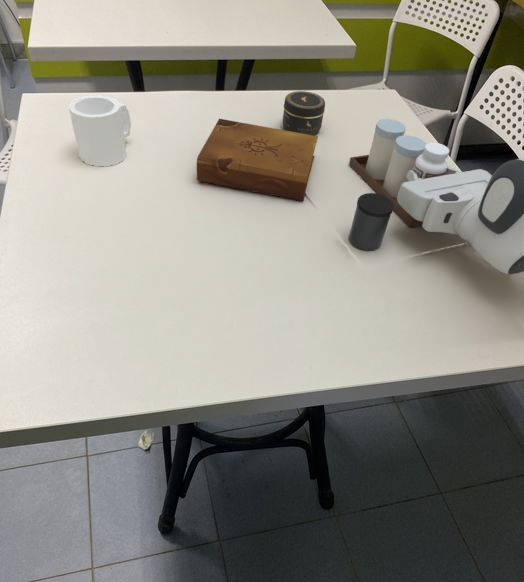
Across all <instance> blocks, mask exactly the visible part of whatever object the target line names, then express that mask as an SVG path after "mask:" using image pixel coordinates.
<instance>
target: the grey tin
mask: <svg viewBox="0 0 524 582" xmlns="http://www.w3.org/2000/svg"><path fill="white" fill-rule="evenodd" d="M393 208H394V205H393V202H392V201H391V200H390V199H389V198H387V197H385V196H383V195H380V194H376V193H375V192H368V193H367V192H366V193H364V194H361V195H360V196H358V198H357V202H356V207H355V211H354V215H353V219H352V223H351V227H350V230H349V234H348V242H349V244H350V245H351V246H352V247H353V248H355V249H357V250H359V251H362V252H374V251H377V250H379V249H380V248H381V246H382V244H383V243H382V242H383V240H384V237H385V233H386V231H387V227H388V224H389V223H390V222H389V221H390V219H391V215H392V213H393V212H394V211H393Z"/></svg>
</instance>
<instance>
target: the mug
mask: <svg viewBox="0 0 524 582" xmlns="http://www.w3.org/2000/svg"><path fill="white" fill-rule="evenodd" d="M68 111H69V115H70V120H71V125H72V129H73V134H74V138H75V142H76V147H77V152H78V155H79V159H80V158H81V159H80V160H81V162H83V161H84V162H85V163H84V162H83V163H84V164H86V163H88V164H87V165H89V164H90V165H89V166H92V165H94V166H93V167H99V166H104V167H111V165H112V166H115V165H118V164H120V163H122V162H123V161H125V160H126V158H127V156H126V155H128V154H127V148H126V147H127V146H126V139H125V138H127V137H129V136H130V135H131V128H132V127H131V126H132V121H131V116H130V112H129V109H128V108H127V106H126V104H124V103H121V102H119V101H118V100H117V99H115V98H113V97H111V96H107V95H100V94H89V95H82V96H80V97H76V98H74V99H73V100H71V101H70V103H69V104H68ZM125 157H126V158H125ZM121 161H122V162H121ZM119 162H120V163H119Z"/></svg>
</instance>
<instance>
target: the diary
mask: <svg viewBox="0 0 524 582" xmlns="http://www.w3.org/2000/svg"><path fill="white" fill-rule="evenodd" d="M317 142H318V136H317V135H315V136H313V135H307V134H302V133H296V132H291V131H285V130H284V129H279V128H273V127H268V126H263V125H257V124H252V123H247V122H240V121H235V120H229V119H225V118H218V119H217V122H216V123H215V125H214V127H213V129H212V130H211V132H210V134H209V136H208V138H207V139H206V141H205V143H204V145H203V147H202V148H201V150H200V152H199V153H198V155H197V158H196V181H198V182H202V183H206V184H213V185H217V186H223V187H227V188H233V189H239V190H244V191H248V192H254V193H260V194H265V195H271V196H276V197H280V198H286V199H291V200H296V201H302V202H303V201H304V199H305V196H306V190H307V187H308V183H309V179H310V175H311V171H312V167H313V163H314V160H315V150H316V146H317Z"/></svg>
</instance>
